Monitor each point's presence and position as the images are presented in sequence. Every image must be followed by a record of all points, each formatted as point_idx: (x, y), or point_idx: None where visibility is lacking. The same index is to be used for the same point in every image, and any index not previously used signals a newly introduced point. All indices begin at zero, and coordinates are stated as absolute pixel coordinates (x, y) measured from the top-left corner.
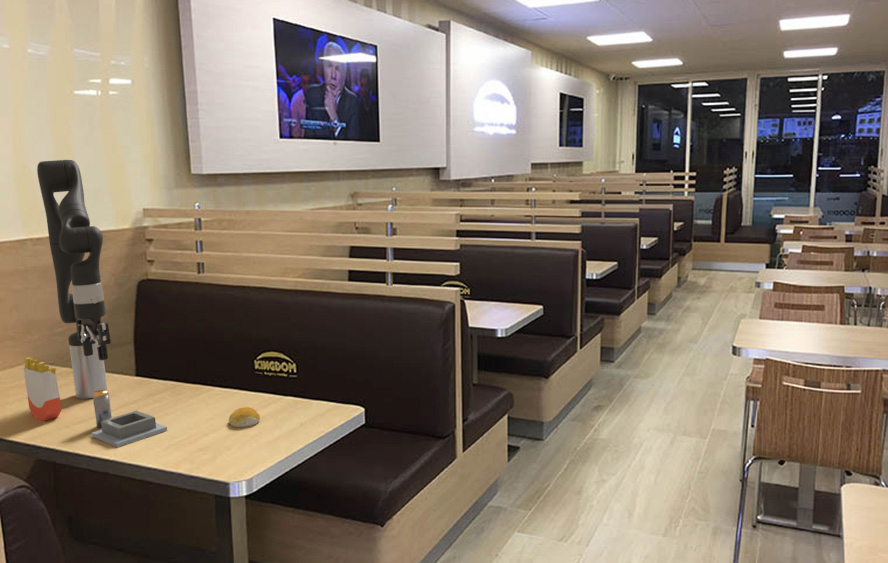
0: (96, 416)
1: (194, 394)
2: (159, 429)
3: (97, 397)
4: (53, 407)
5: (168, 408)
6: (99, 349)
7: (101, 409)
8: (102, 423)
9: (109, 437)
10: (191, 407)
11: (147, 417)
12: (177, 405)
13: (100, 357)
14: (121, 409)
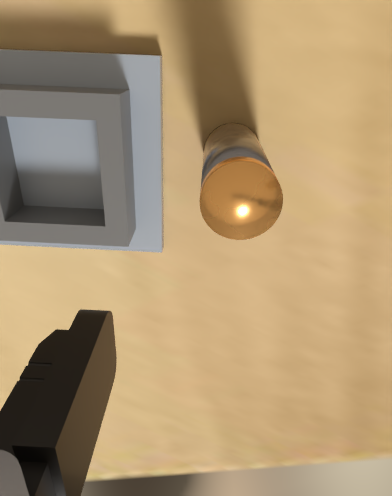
0: (234, 133)
1: (239, 428)
2: None
3: (216, 164)
4: None
5: (195, 343)
6: (28, 420)
7: (208, 155)
8: (108, 93)
9: (37, 69)
10: (141, 372)
11: (6, 224)
12: (196, 366)
13: (73, 332)
14: (339, 274)
